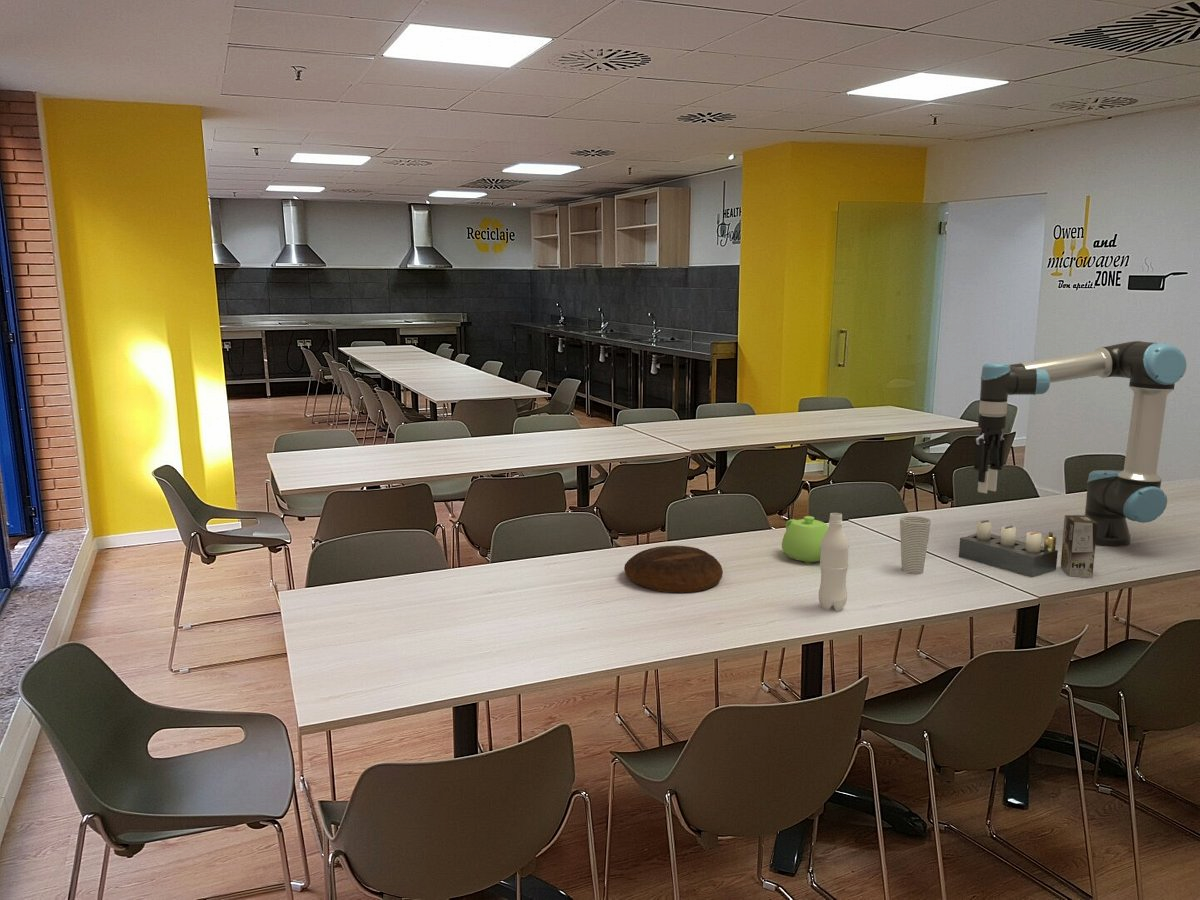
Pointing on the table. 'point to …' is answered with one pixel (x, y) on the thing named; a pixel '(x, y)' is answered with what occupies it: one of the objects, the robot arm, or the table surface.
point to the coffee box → (1078, 545)
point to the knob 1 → (984, 530)
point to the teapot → (804, 539)
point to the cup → (914, 543)
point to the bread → (674, 569)
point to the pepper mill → (1050, 542)
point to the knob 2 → (1008, 536)
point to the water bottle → (834, 565)
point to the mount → (1007, 555)
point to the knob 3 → (1033, 542)
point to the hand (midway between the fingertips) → (986, 491)
